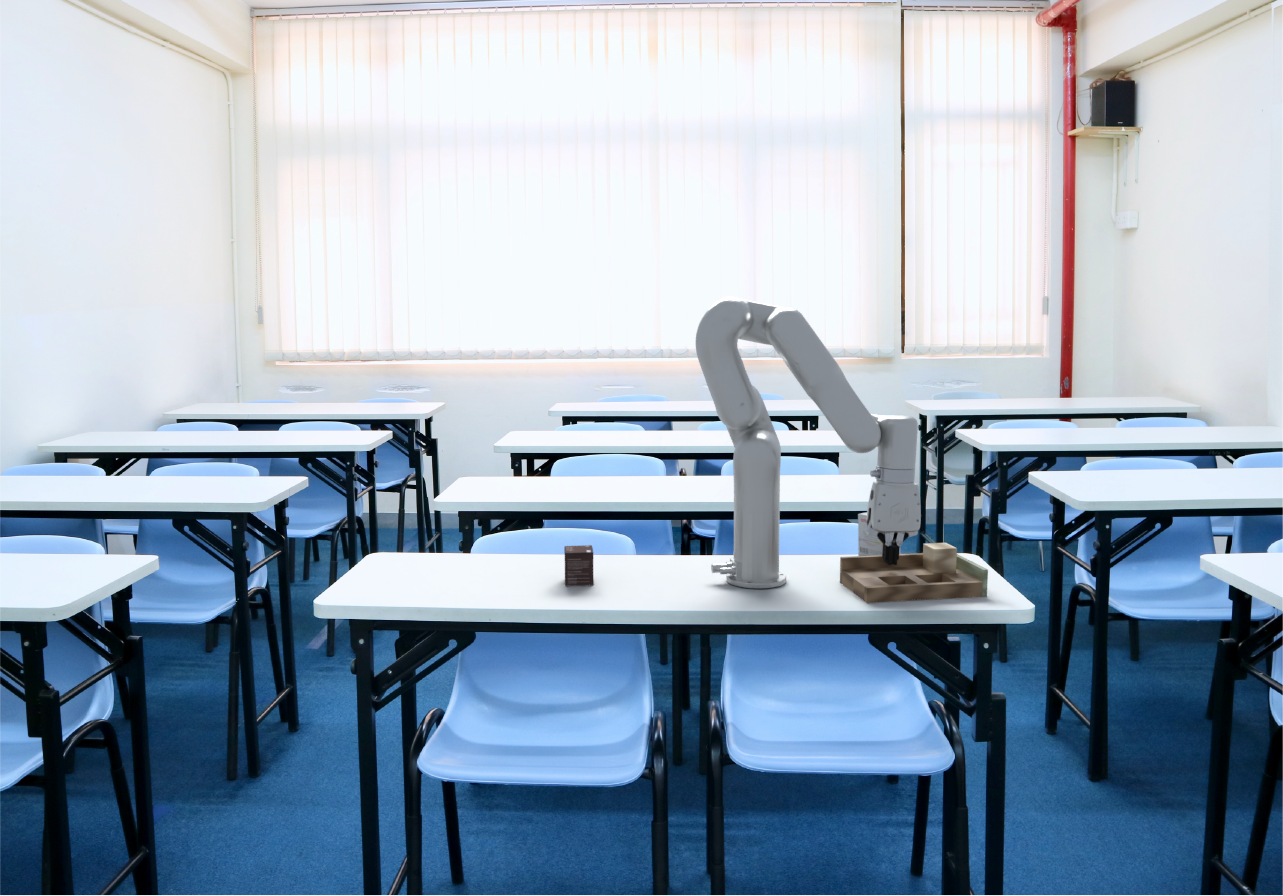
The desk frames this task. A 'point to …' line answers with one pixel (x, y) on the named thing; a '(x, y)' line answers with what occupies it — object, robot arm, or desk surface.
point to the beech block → (939, 557)
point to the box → (578, 565)
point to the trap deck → (910, 579)
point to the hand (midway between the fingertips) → (890, 563)
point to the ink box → (868, 539)
